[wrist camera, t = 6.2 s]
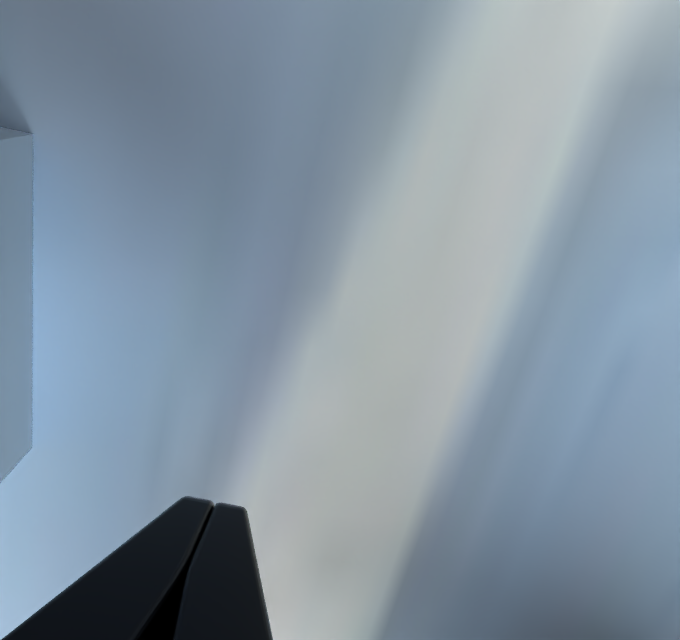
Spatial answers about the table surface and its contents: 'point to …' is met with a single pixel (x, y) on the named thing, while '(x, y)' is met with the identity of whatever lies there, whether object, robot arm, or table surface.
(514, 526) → the table surface
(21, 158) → the block
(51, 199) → the table surface
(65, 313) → the table surface
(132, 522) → the table surface
